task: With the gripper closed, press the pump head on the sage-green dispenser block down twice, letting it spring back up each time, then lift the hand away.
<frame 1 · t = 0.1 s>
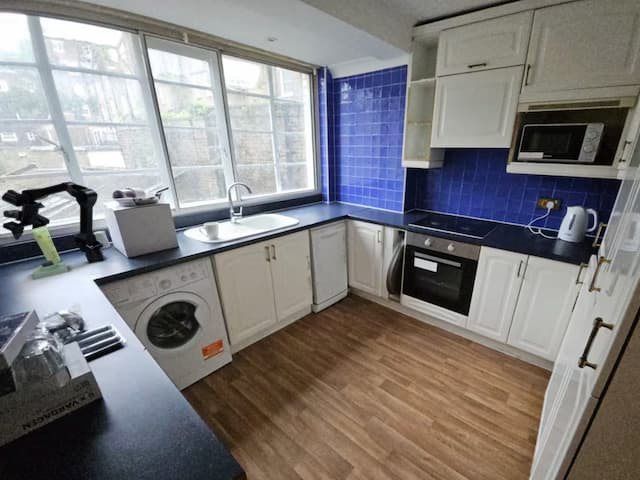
hand: (24, 236, 154), 15 cm above the table, tool tilted 35°, fingers open, 9 cm apart
tube: (54, 262, 161), on the table
cosmetics bottle: (104, 248, 182), on the table
pump head: (47, 263, 146), point 5 cm above the table, slide at 0.1 cm
dispenser: (51, 272, 147), on the table
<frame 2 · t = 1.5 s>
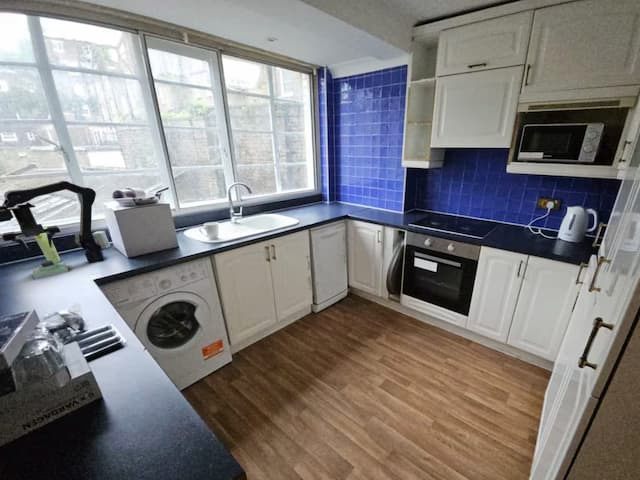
hand: (40, 249, 143), 12 cm above the table, tool pointing down, fingers open, 7 cm apart
nothing on the table moved.
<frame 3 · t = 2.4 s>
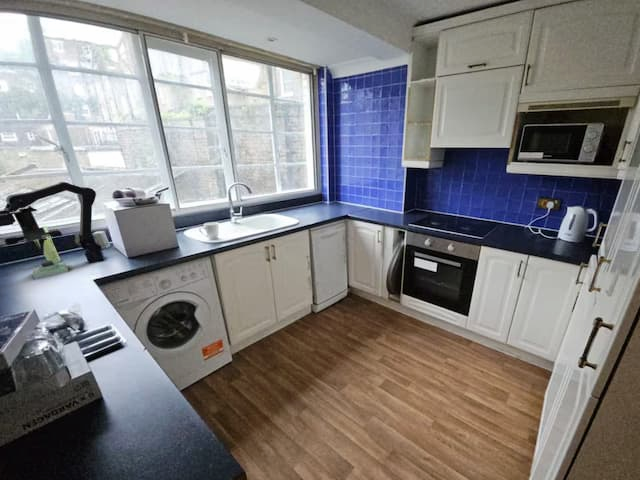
hand: (42, 253, 143), 10 cm above the table, tool pointing down, fingers closed
nothing on the table moved.
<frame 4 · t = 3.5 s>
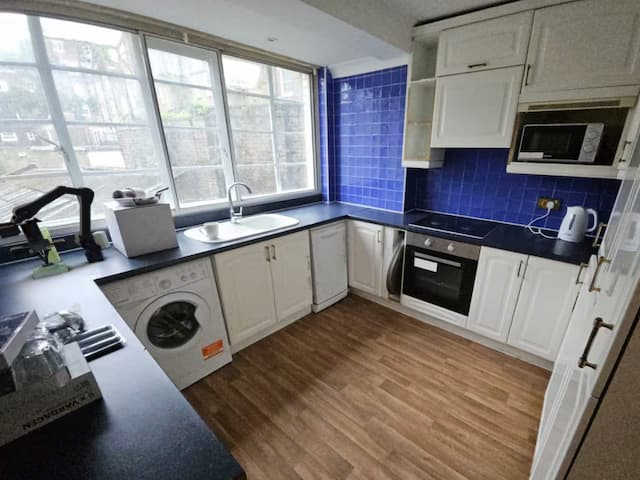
hand: (47, 263, 145), 5 cm above the table, tool pointing down, fingers closed, pressing on pump head
pump head: (48, 265, 146), point 4 cm above the table, slide at -0.7 cm, touching gripper
everything else where it was.
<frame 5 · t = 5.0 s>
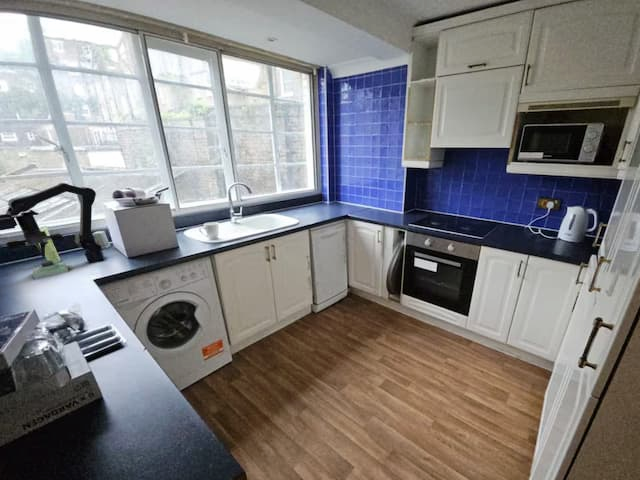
hand: (43, 256, 144), 8 cm above the table, tool pointing down, fingers closed
pump head: (47, 263, 146), point 5 cm above the table, slide at 0.1 cm
everything else where it was.
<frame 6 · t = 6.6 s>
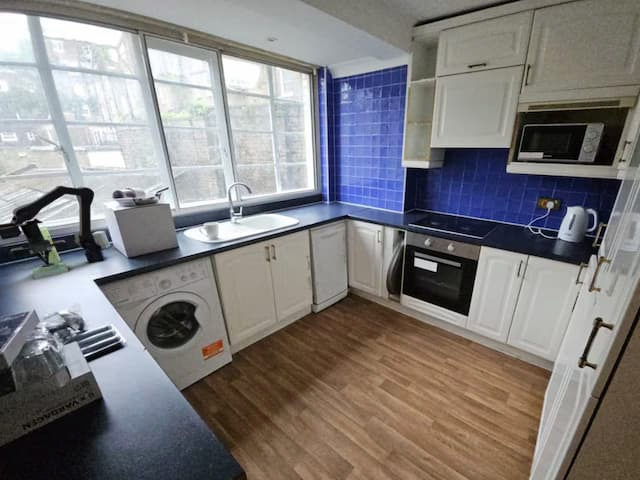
hand: (47, 264, 146), 4 cm above the table, tool pointing down, fingers closed, pressing on pump head
pump head: (48, 266, 146), point 3 cm above the table, slide at -1.1 cm, touching gripper
everything else where it was.
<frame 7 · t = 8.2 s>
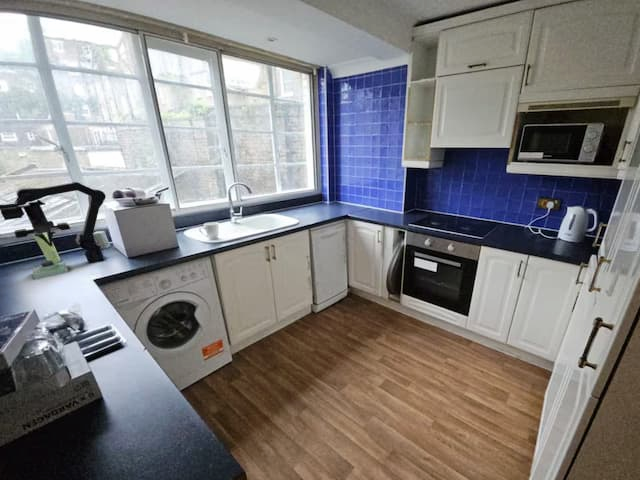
hand: (51, 246, 146), 12 cm above the table, tool pointing down, fingers closed
pump head: (47, 263, 146), point 5 cm above the table, slide at 0.1 cm
everything else where it was.
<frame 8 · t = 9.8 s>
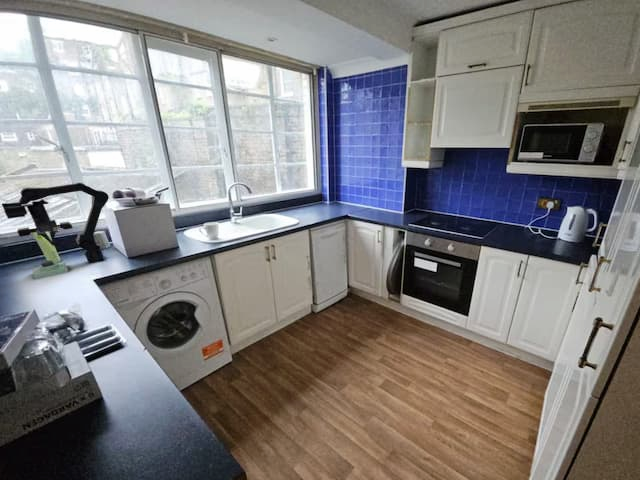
hand: (53, 245, 147), 13 cm above the table, tool pointing down, fingers closed
nothing on the table moved.
at the end: pump head pushed in 1.1 cm at the most during the clip, back to where it started at the end; pump head slide at 0.1 cm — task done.
